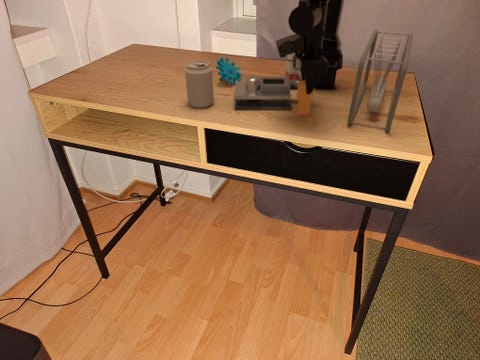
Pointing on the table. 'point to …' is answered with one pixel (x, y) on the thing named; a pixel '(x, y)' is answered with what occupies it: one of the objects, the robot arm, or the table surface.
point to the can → (199, 83)
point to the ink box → (293, 67)
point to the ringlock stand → (264, 93)
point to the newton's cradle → (380, 78)
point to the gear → (228, 71)
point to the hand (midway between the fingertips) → (305, 86)
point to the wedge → (303, 99)
